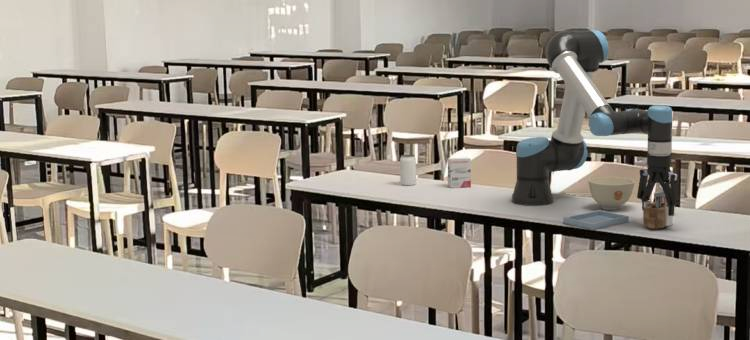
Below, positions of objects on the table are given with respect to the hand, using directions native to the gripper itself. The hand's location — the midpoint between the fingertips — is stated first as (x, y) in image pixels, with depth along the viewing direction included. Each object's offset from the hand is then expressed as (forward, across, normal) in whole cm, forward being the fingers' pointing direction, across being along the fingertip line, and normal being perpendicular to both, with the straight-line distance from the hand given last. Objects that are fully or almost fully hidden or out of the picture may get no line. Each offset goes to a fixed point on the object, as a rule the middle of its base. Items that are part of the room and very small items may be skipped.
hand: (657, 222), depth 331 cm
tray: (+1, -17, -10) cm, 20 cm away
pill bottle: (+1, -10, +17) cm, 20 cm away
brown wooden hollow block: (0, 0, 0) cm, 0 cm away
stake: (+1, 0, 0) cm, 1 cm away
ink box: (+2, -97, -1) cm, 97 cm away
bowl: (+1, -29, +11) cm, 31 cm away
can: (+2, -115, -13) cm, 116 cm away
